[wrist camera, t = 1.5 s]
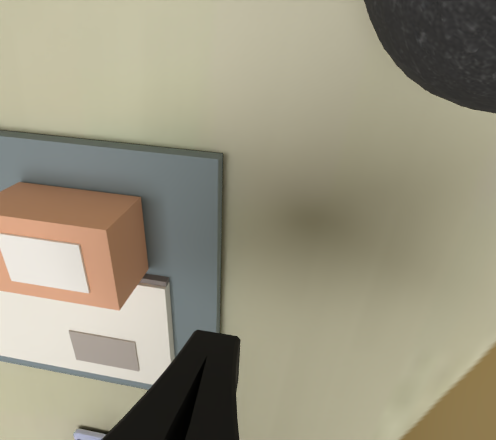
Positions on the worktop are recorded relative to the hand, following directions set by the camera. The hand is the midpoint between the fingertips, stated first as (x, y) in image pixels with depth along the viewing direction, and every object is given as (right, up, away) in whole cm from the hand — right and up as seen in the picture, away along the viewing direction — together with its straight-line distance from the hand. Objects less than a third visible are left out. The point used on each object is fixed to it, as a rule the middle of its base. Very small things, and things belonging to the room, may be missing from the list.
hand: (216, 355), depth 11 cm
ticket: (-12, -1, +11) cm, 16 cm away
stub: (-7, +4, +7) cm, 11 cm away
